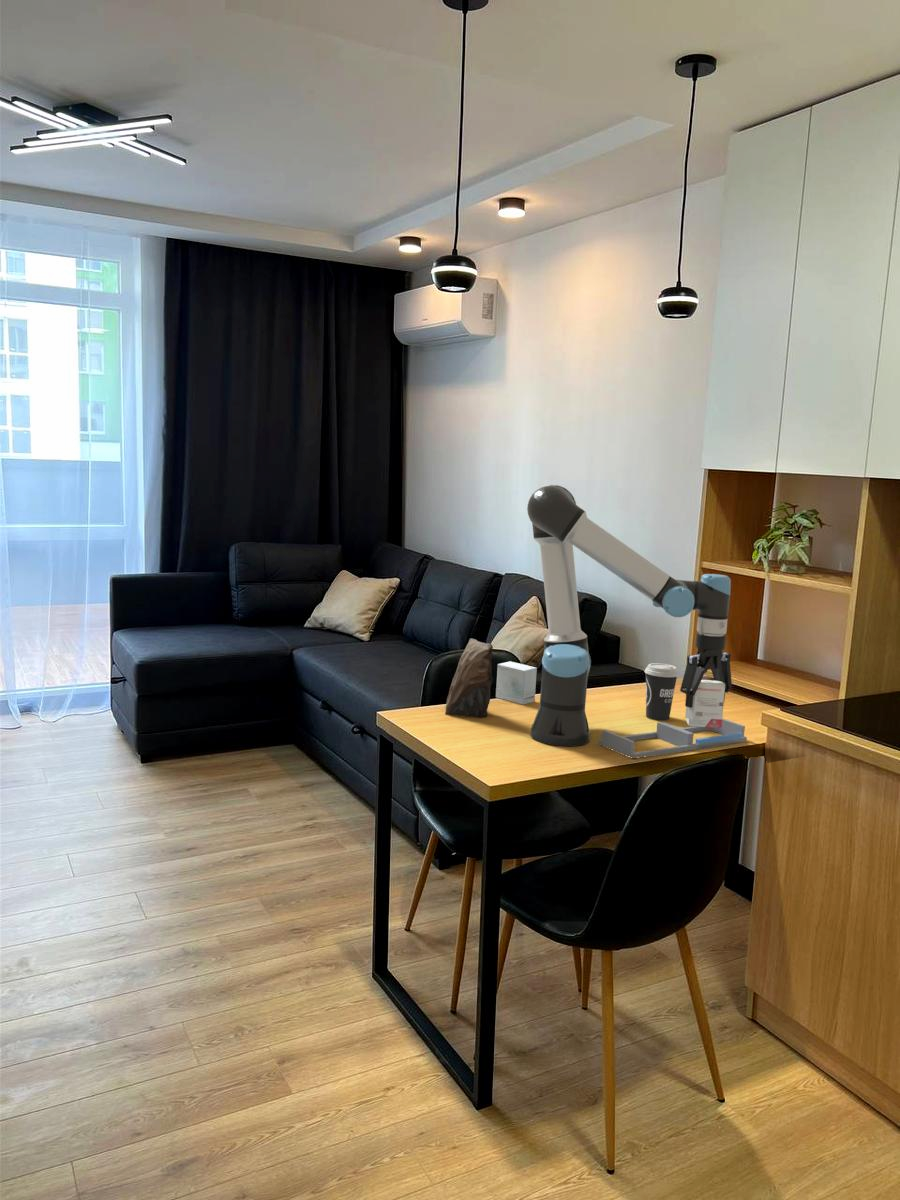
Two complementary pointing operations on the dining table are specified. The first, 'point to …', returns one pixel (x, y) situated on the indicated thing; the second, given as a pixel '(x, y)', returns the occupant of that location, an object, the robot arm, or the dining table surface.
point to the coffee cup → (660, 690)
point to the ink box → (709, 704)
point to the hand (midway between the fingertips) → (703, 717)
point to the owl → (471, 682)
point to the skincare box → (516, 682)
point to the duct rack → (675, 738)
